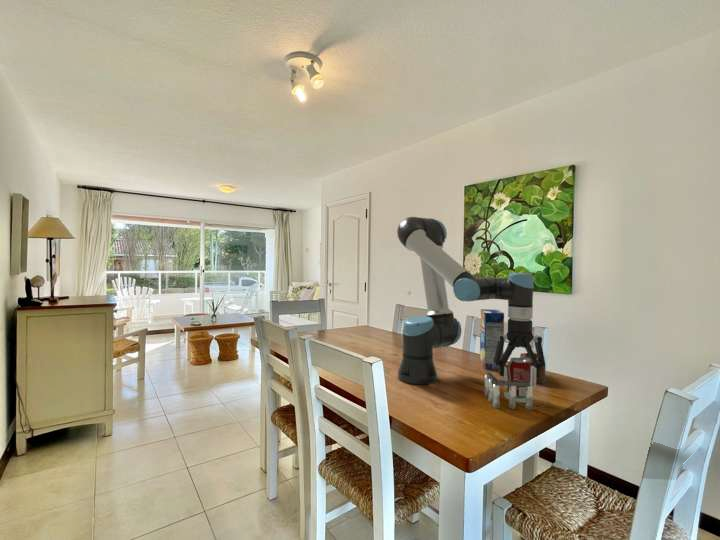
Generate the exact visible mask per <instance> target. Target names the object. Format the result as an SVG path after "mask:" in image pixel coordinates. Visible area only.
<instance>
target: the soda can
mask: <svg viewBox="0 0 720 540" xmlns="http://www.w3.org/2000/svg"><path fill="white" fill-rule="evenodd" d="M509 360H510V361H509V362H508V363H507V381H529V382H530V365H529V363H528V360H527V359H523V358H520V357H509ZM506 388H507V390H506V391H507V392H508V393H509V386H507V387H506ZM525 393H526V386H516V397H517V398H525Z"/></svg>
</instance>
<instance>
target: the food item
mask: <svg viewBox="0 0 720 540" xmlns="http://www.w3.org/2000/svg"><path fill="white" fill-rule="evenodd" d="M533 353H534V355H535V357H536V359H537V361H538V357H537V352H533ZM519 358H523V359H527V360H528V363H529V365H530V377H531V366H534V365H533V363H532V361H531V359H530V357H529V355H528V353H527V352H523V353H522V352H521V353H520V356H519ZM545 382H546V365H545V366H542V367H541V368H540V369H539V377H536V383H541V384H544V383H545Z"/></svg>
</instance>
